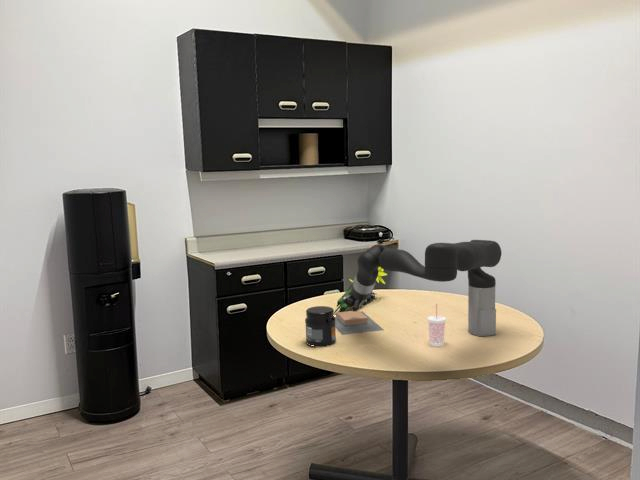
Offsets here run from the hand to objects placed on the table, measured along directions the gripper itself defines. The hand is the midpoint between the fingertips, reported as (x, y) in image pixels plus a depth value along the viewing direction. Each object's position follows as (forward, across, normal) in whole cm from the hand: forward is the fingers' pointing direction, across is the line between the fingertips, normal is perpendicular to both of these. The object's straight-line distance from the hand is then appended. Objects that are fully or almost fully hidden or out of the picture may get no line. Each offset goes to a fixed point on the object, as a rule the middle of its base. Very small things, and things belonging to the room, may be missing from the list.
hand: (354, 309), depth 223 cm
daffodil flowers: (+22, +10, +13) cm, 27 cm away
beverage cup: (-16, +20, -25) cm, 36 cm away
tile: (+2, 0, -4) cm, 5 cm away
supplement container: (-6, -17, -16) cm, 24 cm away
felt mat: (+6, 0, -3) cm, 7 cm away
